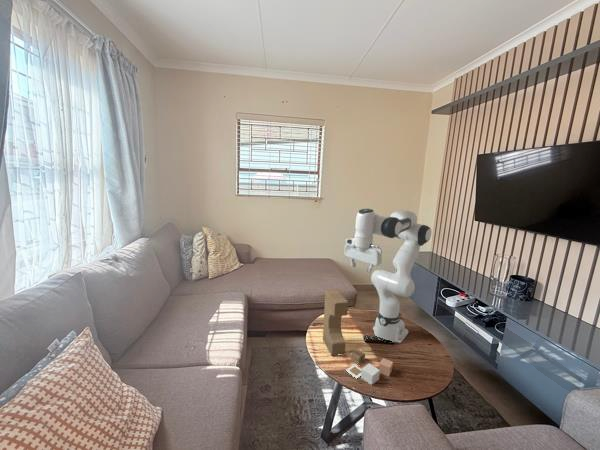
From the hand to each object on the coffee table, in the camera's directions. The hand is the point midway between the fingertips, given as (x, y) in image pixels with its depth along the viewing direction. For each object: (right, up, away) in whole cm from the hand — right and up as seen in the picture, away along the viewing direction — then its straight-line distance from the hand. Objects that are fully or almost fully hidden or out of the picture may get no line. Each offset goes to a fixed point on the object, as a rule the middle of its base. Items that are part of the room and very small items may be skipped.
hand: (361, 269), depth 135 cm
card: (-4, -49, -3) cm, 50 cm away
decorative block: (-12, -46, +16) cm, 50 cm away
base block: (+3, -50, -7) cm, 51 cm away
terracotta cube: (+11, -50, -2) cm, 51 cm away
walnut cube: (-1, -48, +4) cm, 48 cm away
